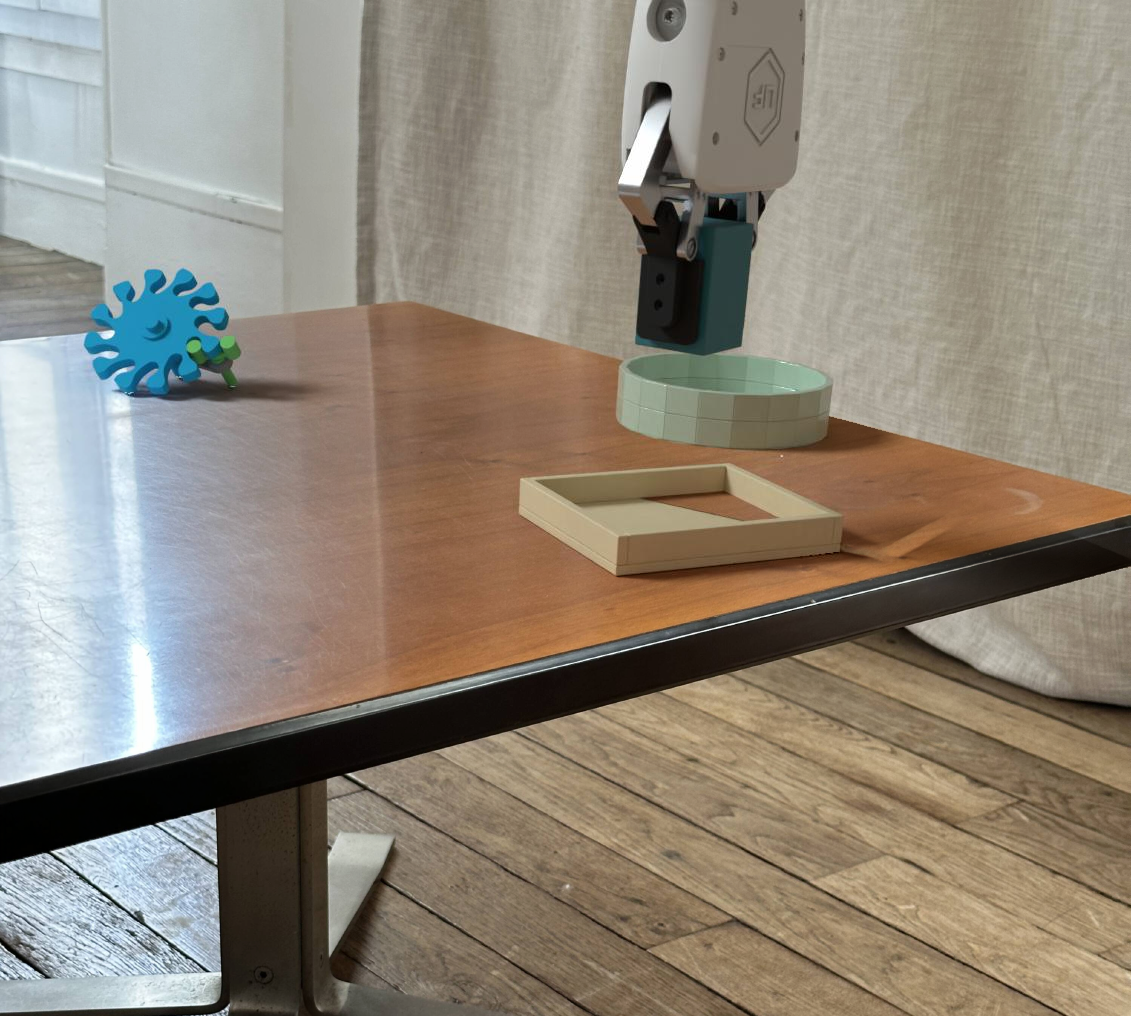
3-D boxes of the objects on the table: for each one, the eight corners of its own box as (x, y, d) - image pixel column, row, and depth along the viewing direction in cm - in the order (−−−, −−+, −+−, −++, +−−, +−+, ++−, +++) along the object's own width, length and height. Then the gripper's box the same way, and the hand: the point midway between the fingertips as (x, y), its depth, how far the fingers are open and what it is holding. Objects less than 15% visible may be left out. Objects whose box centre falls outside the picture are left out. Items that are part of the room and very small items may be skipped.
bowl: (752, 405, 116) (758, 348, 114) (868, 450, 104) (876, 389, 103) (580, 414, 110) (583, 355, 108) (682, 464, 99) (688, 399, 97)
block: (674, 335, 83) (684, 214, 81) (742, 346, 81) (754, 223, 79) (634, 344, 80) (643, 218, 78) (703, 356, 78) (715, 227, 76)
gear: (53, 362, 108) (123, 246, 111) (90, 411, 113) (155, 299, 116) (193, 405, 105) (260, 285, 108) (223, 453, 111) (287, 338, 113)
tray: (726, 496, 92) (729, 462, 91) (840, 552, 83) (844, 515, 82) (518, 514, 86) (519, 477, 86) (615, 576, 77) (618, 536, 76)
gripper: (709, -90, 65) (671, 368, 72) (876, -57, 78) (829, 328, 85) (555, -92, 68) (534, 344, 76) (739, -61, 81) (705, 309, 89)
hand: (690, 331), depth 80 cm, fingers closed on block, 4 cm apart
